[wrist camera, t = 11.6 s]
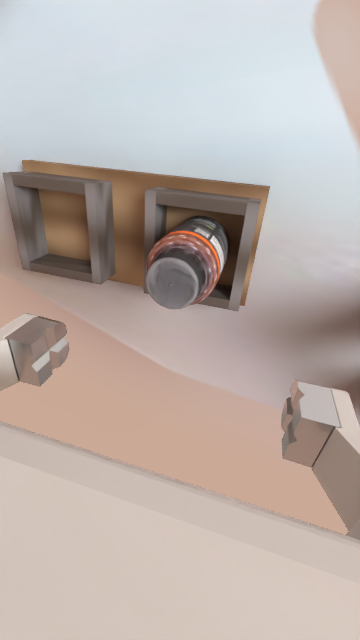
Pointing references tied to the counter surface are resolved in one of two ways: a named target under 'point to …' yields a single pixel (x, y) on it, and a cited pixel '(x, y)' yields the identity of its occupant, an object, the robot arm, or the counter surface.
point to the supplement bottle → (187, 262)
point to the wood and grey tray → (127, 222)
